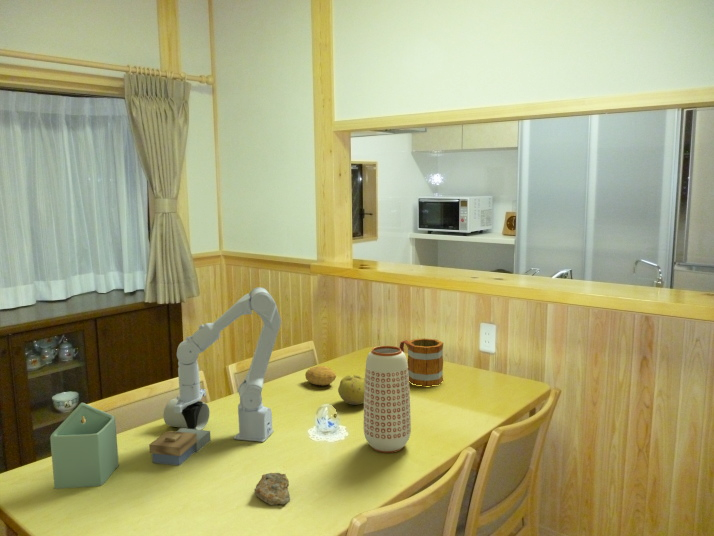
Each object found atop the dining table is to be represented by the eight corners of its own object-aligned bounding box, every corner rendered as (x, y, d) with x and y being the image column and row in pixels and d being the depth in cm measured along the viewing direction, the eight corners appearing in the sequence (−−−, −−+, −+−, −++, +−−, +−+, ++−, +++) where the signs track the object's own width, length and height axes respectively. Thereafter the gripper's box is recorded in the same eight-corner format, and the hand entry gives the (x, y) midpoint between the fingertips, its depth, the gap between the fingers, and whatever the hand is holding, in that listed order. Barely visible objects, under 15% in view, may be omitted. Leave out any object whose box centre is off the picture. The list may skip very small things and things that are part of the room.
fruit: (332, 408, 195) (332, 379, 194) (346, 396, 206) (345, 369, 205) (363, 412, 191) (363, 382, 190) (376, 400, 202) (375, 372, 200)
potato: (323, 378, 227) (322, 360, 226) (341, 386, 216) (340, 368, 215) (302, 382, 221) (301, 365, 220) (320, 392, 211) (319, 373, 210)
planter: (67, 498, 140) (60, 419, 137) (54, 488, 145) (47, 411, 142) (132, 473, 152) (127, 400, 149) (117, 464, 157) (112, 393, 154)
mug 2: (450, 381, 220) (451, 342, 218) (427, 390, 211) (427, 349, 209) (412, 370, 235) (412, 333, 233) (388, 377, 226) (388, 340, 224)
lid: (196, 441, 163) (196, 430, 163) (179, 456, 155) (179, 444, 154) (168, 438, 165) (167, 428, 165) (149, 452, 157) (148, 441, 156)
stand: (210, 440, 171) (210, 430, 171) (197, 452, 163) (196, 442, 163) (181, 437, 173) (180, 428, 173) (166, 449, 165) (166, 439, 165)
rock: (253, 489, 143) (251, 502, 134) (259, 465, 144) (257, 476, 134) (288, 495, 144) (289, 509, 134) (293, 471, 145) (294, 483, 135)
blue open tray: (194, 452, 163) (194, 442, 163) (179, 465, 156) (178, 454, 155) (169, 449, 165) (168, 439, 165) (152, 462, 158) (152, 452, 157)
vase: (415, 439, 170) (415, 345, 166) (404, 459, 157) (403, 358, 153) (372, 434, 174) (370, 341, 170) (357, 453, 161) (355, 354, 158)
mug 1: (160, 424, 177) (190, 429, 173) (167, 395, 180) (197, 400, 176) (182, 429, 188) (211, 433, 184) (189, 402, 190) (218, 406, 187)
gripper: (189, 373, 176) (192, 417, 177) (162, 390, 162) (165, 436, 164) (211, 375, 174) (213, 418, 176) (185, 391, 160) (188, 438, 162)
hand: (192, 427), depth 170 cm, fingers closed
